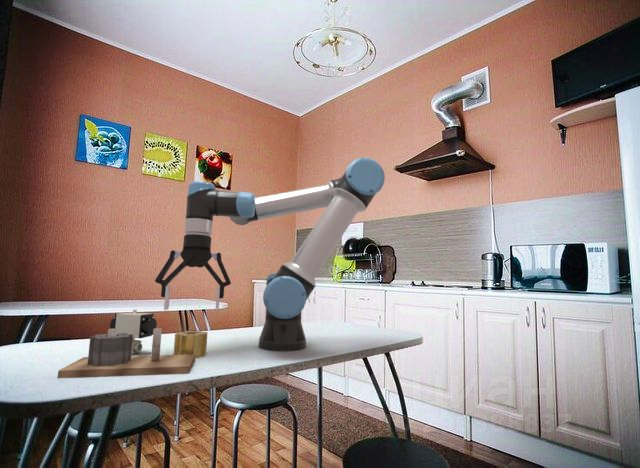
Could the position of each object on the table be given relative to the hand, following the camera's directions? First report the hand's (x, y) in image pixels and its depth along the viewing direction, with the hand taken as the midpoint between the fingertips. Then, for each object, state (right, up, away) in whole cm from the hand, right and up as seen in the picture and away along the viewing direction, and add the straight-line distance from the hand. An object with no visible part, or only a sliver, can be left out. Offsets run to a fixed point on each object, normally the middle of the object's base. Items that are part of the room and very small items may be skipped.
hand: (191, 309), depth 100 cm
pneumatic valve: (-17, -12, 0) cm, 21 cm away
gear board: (-8, -10, -17) cm, 21 cm away
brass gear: (0, -12, -2) cm, 12 cm away
